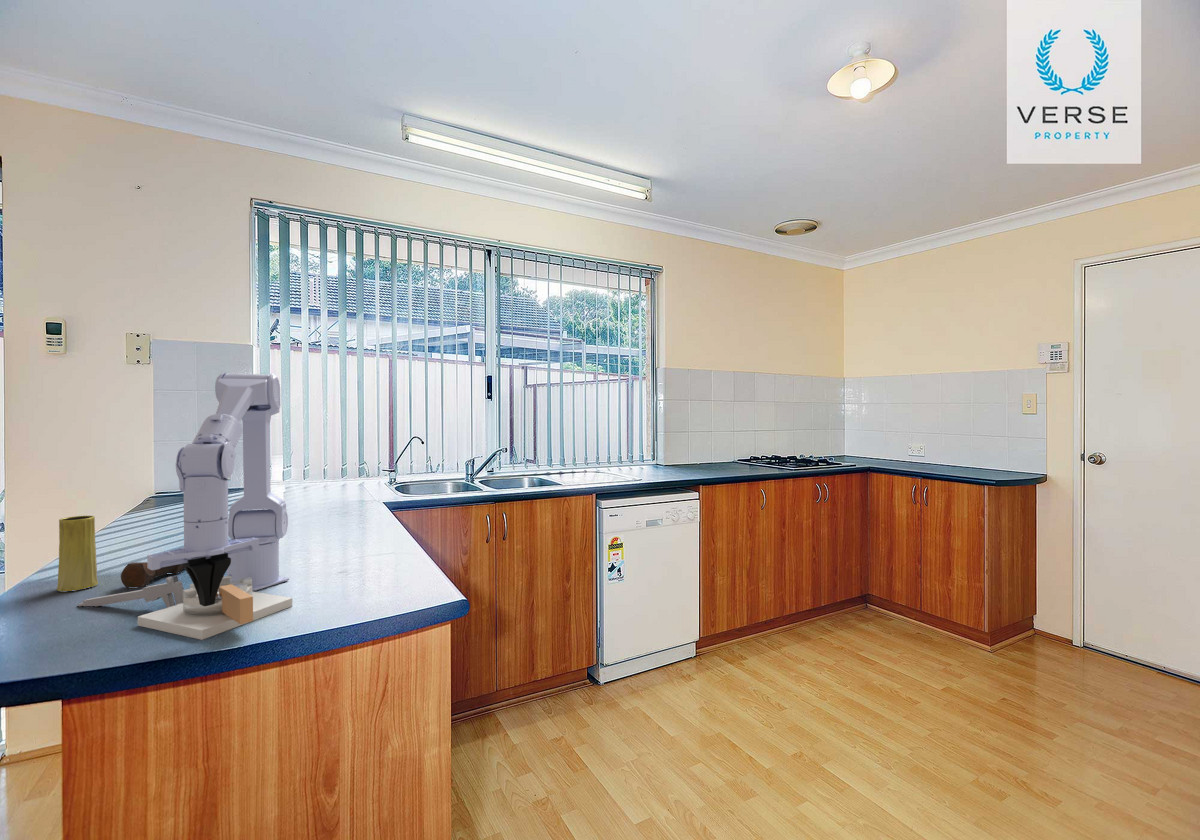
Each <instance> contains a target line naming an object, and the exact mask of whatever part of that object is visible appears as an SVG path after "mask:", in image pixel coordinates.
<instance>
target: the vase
mask: <svg viewBox="0 0 1200 840" xmlns="http://www.w3.org/2000/svg"><path fill="white" fill-rule="evenodd" d="M95 519H96V518H95V516H94V515H78V516H76V515H75V516H68V517H63V518H60V519H58V526H59V527H58V533H59V536H58V537H59V538H58V540H59V541H58V542H59V543H58V544H59V545H58V570H57V572H58V573H57V586H56V591H57V590H58V591H72V590H79V589H84V588H88V587H92V586H95V585H97V584H98V585H99V580H98V566H97V563H98V562H97V546H96V544H97V543H96V527H95V526H96V524H95V523H96V522H95V521H96V520H95ZM95 587H96V586H95ZM92 588H93V587H92ZM58 591H57V592H58Z"/></svg>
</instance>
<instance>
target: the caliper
mask: <svg viewBox="0 0 1200 840" xmlns="http://www.w3.org/2000/svg"><path fill="white" fill-rule="evenodd" d="M165 580H166V582H165V583H160V584H159V583H158V584H155V585H148V586H146V587H143V588H141V589H139V590H132V591H126V592H121V593H115V594H109V595H102V596H98V597H92V598H87V599H84V600H82V602H81V603H78V604H77V605H78V606H79V607H82V606H95V607H101V606H106V605H110V604H111V605H113V604H119V603H123V602H129V601H135V600H141V599H144V602H145V603H148V602H151V601H152V602H154V601H157V600H159V599H162V601H163V603H164V604H165V608H168V607H171V606H174V605H178V604H181V603H183V590H185V589H184V586H183V582H182V581H181V580H179V578H178V575H177V574H175V575H173V576H168V577H166V578H165Z"/></svg>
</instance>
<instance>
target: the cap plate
mask: <svg viewBox="0 0 1200 840" xmlns="http://www.w3.org/2000/svg"><path fill="white" fill-rule="evenodd" d="M252 596H253V621H252V622H254V621H257V620H258V619H259V620H260V619H262V618H265V617H267V616H270V615H272V614H275V613H277V612H281V611H283V610H286V609H288V608H291V607H293V597H288V596H284V595H283V596H282V595H277V594H270V593H263V592H258V591H252ZM248 623H250V622H248ZM248 623H244V624H239V623H237V622H236V621H235V620H233V619H232V618H230V617H229V616H227V615H226V614H224V613H223V612H219V613H212V614H200V615H196V614H187V613H185V612H183V603H181V604H178V605H176V604H175V605H174V606H171V607H168V608H167V607H165V608H161V609H158V610H155V611H152V612H149V613H145V614H141V615H139V616H137V626H138V627H142V628H146V629H150V630H151V629H152V630H157V631H161V632H166V633H170V634H175V635H178V636H184V637H187V638H192V639H197V640H201V641H203V640H206V639H208V638H210V637H213V636H216V635H219V634H221V633H224V632H228V631H229V630H232V629H235V628H237V627H241V626H243V625H247V624H248Z"/></svg>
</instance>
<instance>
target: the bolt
mask: <svg viewBox="0 0 1200 840" xmlns="http://www.w3.org/2000/svg"><path fill="white" fill-rule="evenodd" d="M183 570H184V567H183V565H182V564H177V565H172V566H167V567H161V568H160V569H157V570H150V569H148V568H147V561H146V562H145V561H144V562H139V561H138V562H130V563H127V565H125V567H124V568H123V569H122V571H121V573H120V580H121V583H122V584H123V586H124V587H125V588H126V587H143V588H145V587H144V586H146V585H148V586H149V584H150V583H151V581H152V579H155V578H158V577H161V576H163V575H168V574H167V573H173V574H172V575H176V574H175V573H177V574H179V573H178V572H180V573H181V572H182V571H183ZM146 587H147V586H146Z"/></svg>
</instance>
